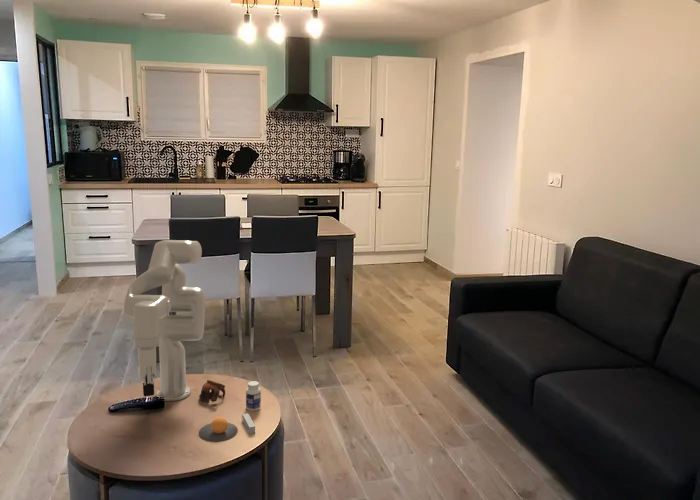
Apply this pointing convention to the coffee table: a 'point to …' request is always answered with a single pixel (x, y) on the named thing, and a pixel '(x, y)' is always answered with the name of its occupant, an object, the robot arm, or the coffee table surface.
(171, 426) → the coffee table surface
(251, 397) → the pill bottle
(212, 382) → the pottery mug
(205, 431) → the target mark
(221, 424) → the ball
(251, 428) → the bar
